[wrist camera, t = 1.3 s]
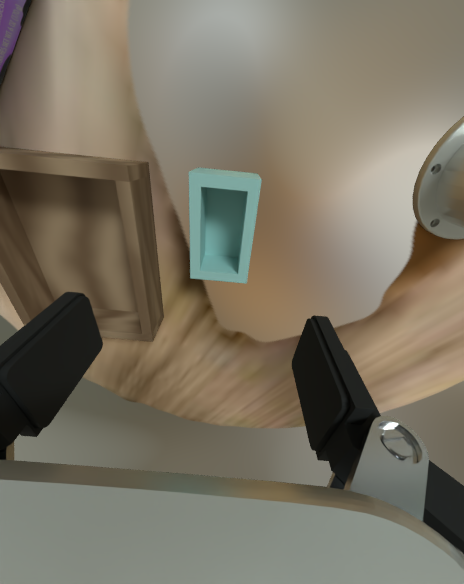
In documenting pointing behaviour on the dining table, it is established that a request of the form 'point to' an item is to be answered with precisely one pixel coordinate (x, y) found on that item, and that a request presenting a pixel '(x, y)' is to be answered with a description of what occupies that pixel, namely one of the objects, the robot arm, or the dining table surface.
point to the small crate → (222, 223)
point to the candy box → (10, 28)
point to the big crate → (80, 238)
